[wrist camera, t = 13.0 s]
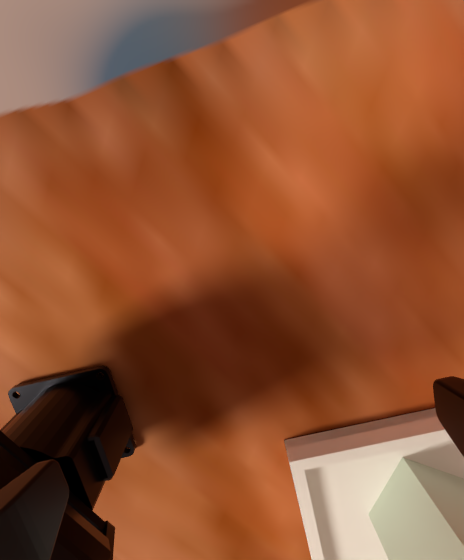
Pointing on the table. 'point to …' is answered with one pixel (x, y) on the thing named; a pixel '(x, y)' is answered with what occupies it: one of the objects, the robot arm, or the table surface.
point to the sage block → (420, 514)
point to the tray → (360, 478)
